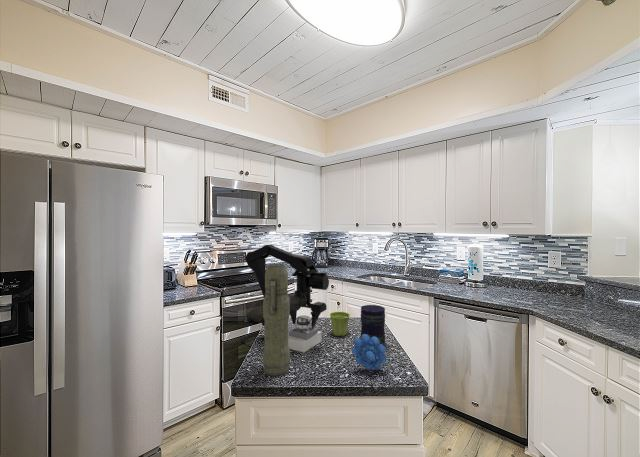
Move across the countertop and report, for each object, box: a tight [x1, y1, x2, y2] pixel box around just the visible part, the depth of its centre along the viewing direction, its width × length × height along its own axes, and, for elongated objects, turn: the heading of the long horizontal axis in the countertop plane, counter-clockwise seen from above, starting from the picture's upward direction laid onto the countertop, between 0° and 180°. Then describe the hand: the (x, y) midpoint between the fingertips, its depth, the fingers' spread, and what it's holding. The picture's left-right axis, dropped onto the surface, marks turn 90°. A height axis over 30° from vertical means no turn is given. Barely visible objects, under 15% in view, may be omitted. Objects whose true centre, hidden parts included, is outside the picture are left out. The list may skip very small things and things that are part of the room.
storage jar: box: [360, 304, 386, 346], centre depth 116 cm, size 10×10×15 cm
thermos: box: [262, 263, 291, 377], centre depth 96 cm, size 9×12×35 cm
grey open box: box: [288, 326, 322, 353], centre depth 116 cm, size 9×13×6 cm
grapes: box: [351, 334, 388, 371], centre depth 94 cm, size 12×7×12 cm, turn 87°
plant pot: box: [328, 311, 351, 337], centre depth 128 cm, size 9×9×9 cm
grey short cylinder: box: [296, 314, 311, 334], centre depth 116 cm, size 6×6×7 cm
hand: (303, 325), depth 116 cm, fingers open, 9 cm apart
